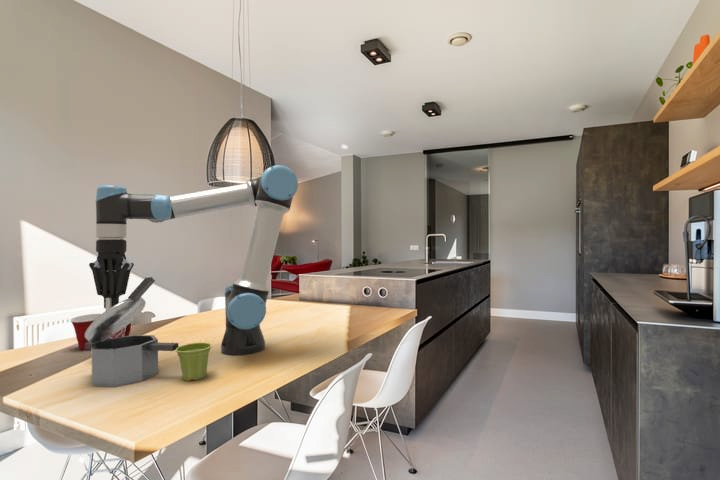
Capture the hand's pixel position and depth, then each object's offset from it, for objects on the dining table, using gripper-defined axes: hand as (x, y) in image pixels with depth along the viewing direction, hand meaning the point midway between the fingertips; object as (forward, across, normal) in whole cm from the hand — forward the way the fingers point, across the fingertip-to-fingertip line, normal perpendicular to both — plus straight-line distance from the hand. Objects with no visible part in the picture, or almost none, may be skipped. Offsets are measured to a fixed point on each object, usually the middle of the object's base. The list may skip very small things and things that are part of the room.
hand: (111, 319), depth 114 cm
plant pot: (+16, -26, -1) cm, 30 cm away
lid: (-2, -5, 0) cm, 5 cm away
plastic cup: (+17, +33, -27) cm, 46 cm away
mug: (+17, +13, -17) cm, 27 cm away
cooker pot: (+16, -7, 0) cm, 18 cm away
